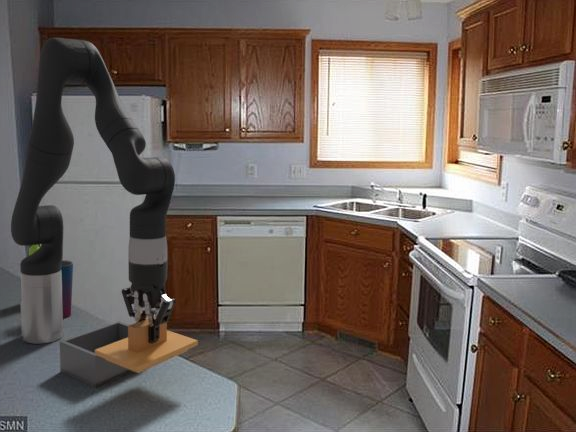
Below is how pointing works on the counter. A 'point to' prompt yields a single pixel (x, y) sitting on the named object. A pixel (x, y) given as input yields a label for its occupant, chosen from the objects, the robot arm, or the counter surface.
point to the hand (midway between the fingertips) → (148, 339)
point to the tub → (92, 355)
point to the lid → (145, 347)
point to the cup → (66, 287)
